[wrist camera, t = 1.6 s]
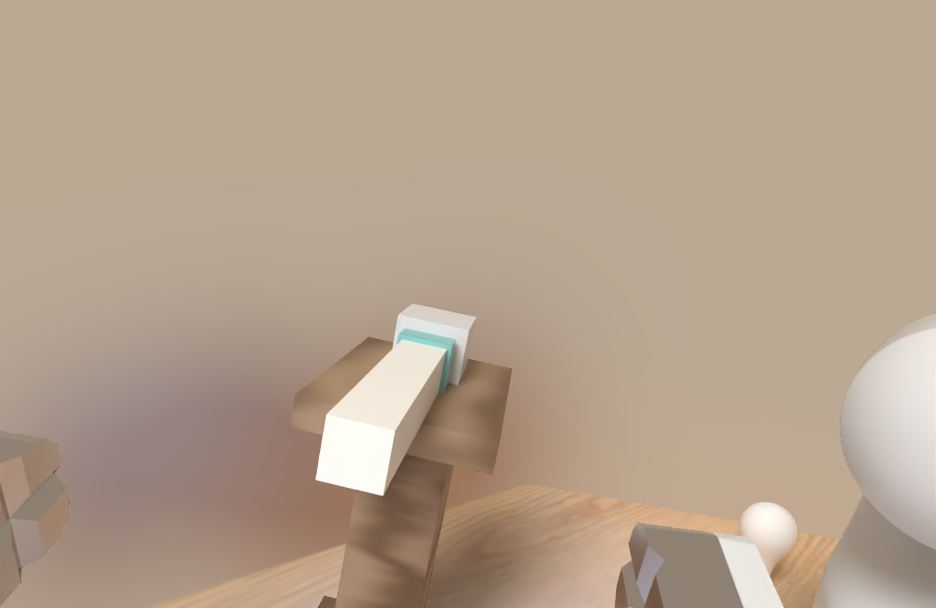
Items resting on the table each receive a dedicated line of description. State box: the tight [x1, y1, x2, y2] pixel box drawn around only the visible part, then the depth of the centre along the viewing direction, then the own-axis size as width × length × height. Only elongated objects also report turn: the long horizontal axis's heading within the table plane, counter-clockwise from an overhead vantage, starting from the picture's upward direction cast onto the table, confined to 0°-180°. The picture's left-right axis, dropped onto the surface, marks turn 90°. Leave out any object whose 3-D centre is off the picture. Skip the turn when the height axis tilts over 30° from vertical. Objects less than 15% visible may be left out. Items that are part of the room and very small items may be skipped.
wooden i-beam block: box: [290, 337, 512, 608], centre depth 46 cm, size 12×16×26 cm
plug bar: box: [316, 304, 476, 496], centre depth 38 cm, size 5×22×4 cm, turn 174°
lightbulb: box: [740, 502, 798, 575], centre depth 74 cm, size 6×6×11 cm
